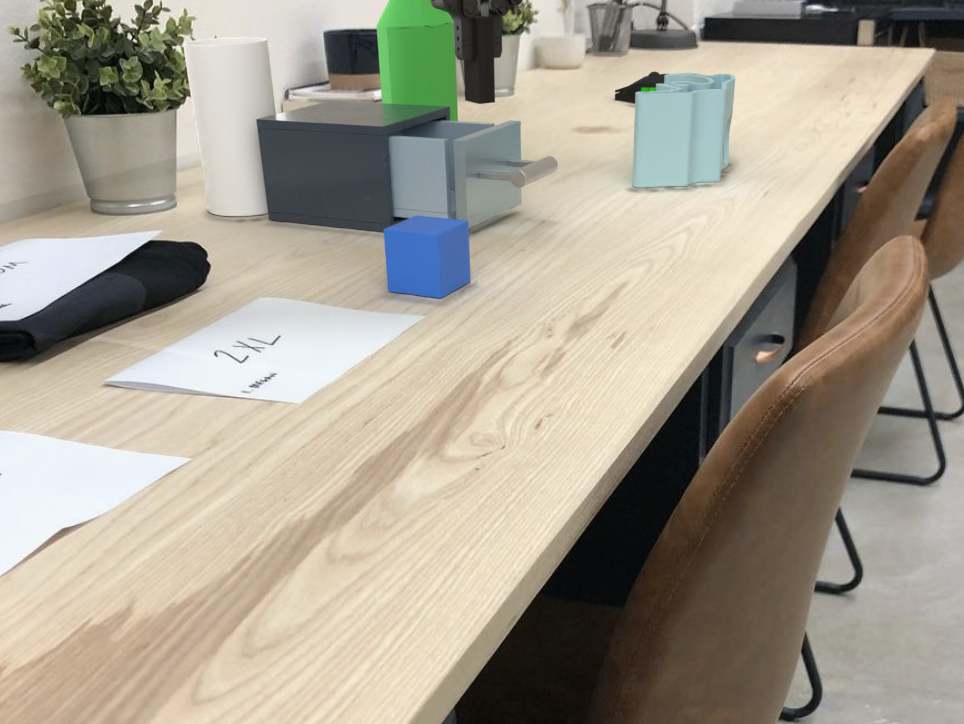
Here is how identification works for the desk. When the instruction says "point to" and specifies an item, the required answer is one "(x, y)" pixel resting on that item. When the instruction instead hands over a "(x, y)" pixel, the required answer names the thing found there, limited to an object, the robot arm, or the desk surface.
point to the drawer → (460, 169)
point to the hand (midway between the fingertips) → (479, 101)
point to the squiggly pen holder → (683, 130)
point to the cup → (230, 119)
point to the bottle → (417, 55)
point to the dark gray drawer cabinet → (335, 162)
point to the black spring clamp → (639, 87)
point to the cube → (427, 256)
